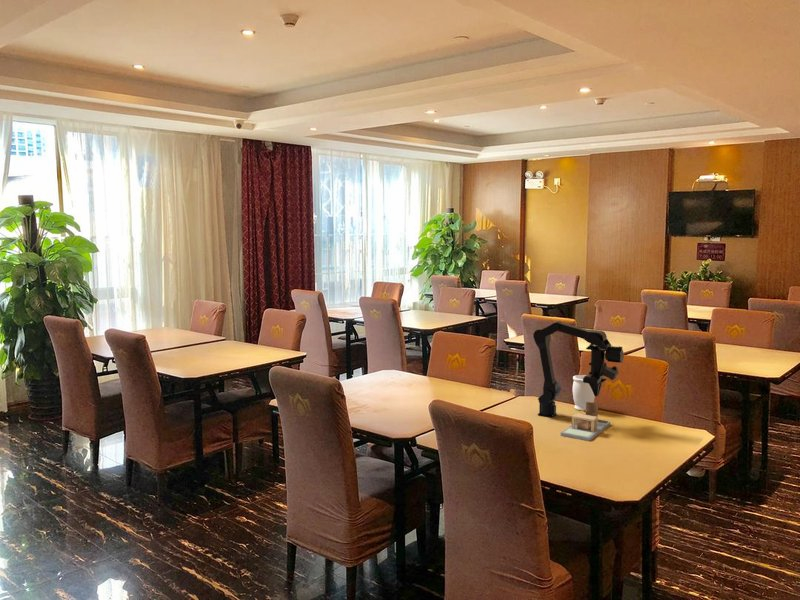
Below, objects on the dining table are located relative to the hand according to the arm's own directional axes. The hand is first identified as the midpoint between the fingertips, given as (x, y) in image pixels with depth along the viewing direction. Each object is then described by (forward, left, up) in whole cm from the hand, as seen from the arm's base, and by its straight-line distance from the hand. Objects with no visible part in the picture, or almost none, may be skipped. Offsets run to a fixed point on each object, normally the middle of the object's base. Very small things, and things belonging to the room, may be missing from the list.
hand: (596, 395), depth 280 cm
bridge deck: (0, -12, -12) cm, 17 cm away
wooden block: (0, -11, -11) cm, 15 cm away
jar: (-12, +18, -12) cm, 25 cm away
